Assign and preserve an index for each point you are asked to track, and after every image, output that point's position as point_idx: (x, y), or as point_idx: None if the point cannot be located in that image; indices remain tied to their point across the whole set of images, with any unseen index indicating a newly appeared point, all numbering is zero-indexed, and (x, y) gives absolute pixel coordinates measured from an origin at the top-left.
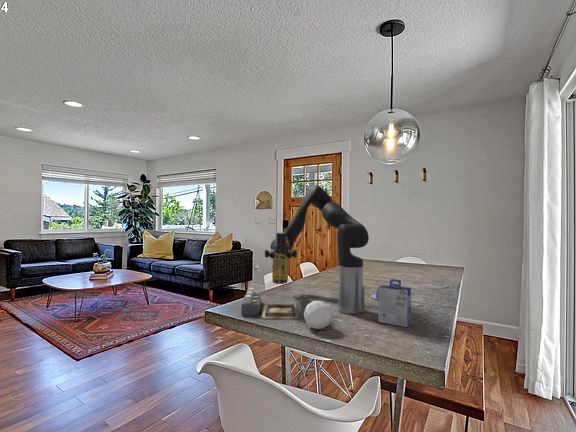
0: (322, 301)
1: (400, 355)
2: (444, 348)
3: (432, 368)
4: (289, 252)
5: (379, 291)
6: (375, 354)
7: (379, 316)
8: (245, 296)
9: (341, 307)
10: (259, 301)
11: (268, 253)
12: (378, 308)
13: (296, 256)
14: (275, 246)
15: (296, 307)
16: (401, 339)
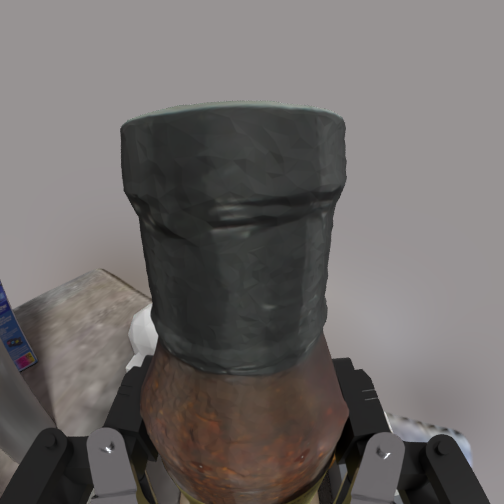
0: (144, 309)
1: (107, 284)
2: (52, 290)
3: (102, 269)
4: (141, 386)
5: (10, 306)
6: (131, 287)
7: (32, 350)
8: (385, 415)
9: (51, 425)
10: (339, 483)
11: (406, 447)
12: (25, 339)
13: (56, 488)
14: (337, 379)
15: (181, 501)
16: (68, 309)
